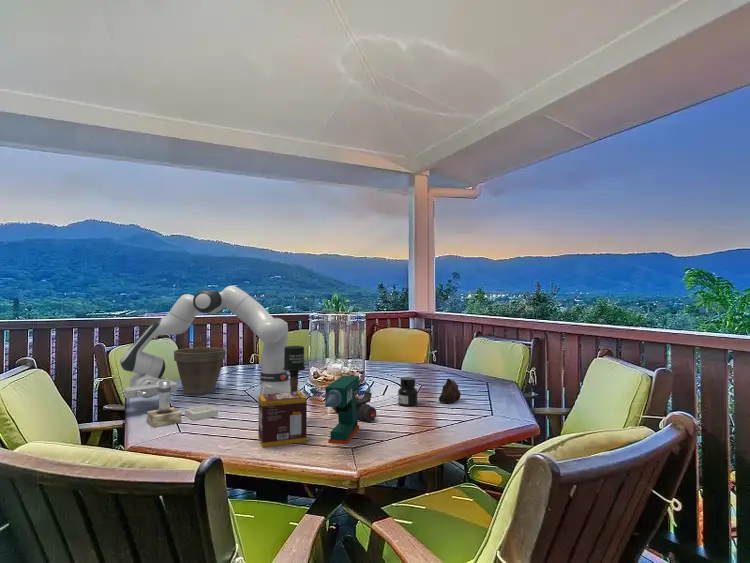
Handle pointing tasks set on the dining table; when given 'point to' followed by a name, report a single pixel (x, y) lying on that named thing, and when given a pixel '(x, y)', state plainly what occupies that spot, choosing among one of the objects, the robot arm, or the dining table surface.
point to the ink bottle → (407, 392)
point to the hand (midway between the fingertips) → (156, 392)
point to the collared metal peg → (164, 397)
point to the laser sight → (364, 408)
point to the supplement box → (282, 418)
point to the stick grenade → (294, 363)
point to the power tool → (343, 407)
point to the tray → (201, 412)
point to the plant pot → (199, 368)
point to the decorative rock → (450, 392)
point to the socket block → (163, 417)
